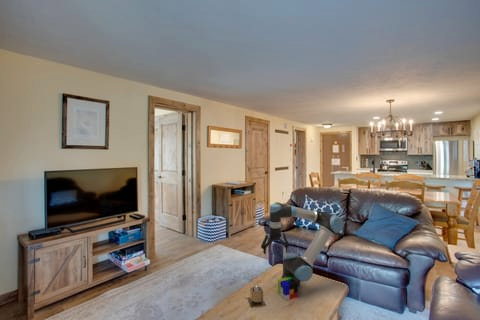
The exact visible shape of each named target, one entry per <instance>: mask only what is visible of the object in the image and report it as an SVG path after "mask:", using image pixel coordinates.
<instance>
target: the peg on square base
mask: <svg viewBox="0 0 480 320" xmlns="http://www.w3.org/2000/svg"><path fill="white" fill-rule="evenodd" d="M253 287H254V291H255V292H259V287H260V286H259V285H257V284H256V285H254V286H253ZM247 300H248V303H249V306H250V308H258V307H266V306H267V305H266V302H265V300H264V299H263V300H262V301H260V302H254V301H252V300H251V298H250V297H247Z"/></svg>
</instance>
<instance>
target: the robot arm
mask: <svg viewBox="0 0 480 320" xmlns="http://www.w3.org/2000/svg"><path fill="white" fill-rule="evenodd" d="M294 217H295V218H299V219H302V220H306V221H310V222H311V223H314V224H317V225H318V226H319V230H318V232H317V233H316V235H315V237H314V238H313V239H312V241H311V242H310V243H309V245H308V247H307V248H306V250H305V251H304V253H303V254H302V255H300V256H299V254H297V253H296V252H288V248H289V247H290V243H289V241H288V239H287V236H286V233H284V232H282V230H281V229H282V228H281V226H282V225H281V223H282V221H281V220H282V219H285V218H286V219H287V218H294ZM343 228H344V221H343V219H342V218H341V217H340V216H339V215H337V214H333V213H329V212H327V211H323V210H315V209H313V210H310V209H305V208H302V207H296V206H295V205H289V204H285V203H281V202H277V201H276V202H274V203H273V204H270V206H269V233H265V235H264V238H263V241H262V242H261V245H260V248H261V249H262V250H263V254H264V259H266V260H267V259H268V249H267V248H268V247H269V245H270V244H271V243H272V242H273V241H274V242H276V241H277V242H278V241H280V243H281V244H282V245H283V247H282V248H283V249H282V250H283V251H282V253H283V254H282V274H281V277H280V279H281V278H286V277H291V278H292V279H293V280H294V281H296V282H297V283H298V288H300V287H301V282H308V281H310V280H311V279H312V277H313V272H314V271H313V268H314V263H315V261H316V260H317V258H318V257H319V255H320V253H321V252H322V250H323V249H324V247H325V246H326V244H327V242H328V241H329V239H330V238H331V237H334V236H335V234H336V233H338V234H339V233H340V232H342V230H343ZM281 232H282V233H281ZM281 237H282V238H283V240H284V241H283V240H282V239H281Z"/></svg>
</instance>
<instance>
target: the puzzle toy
mask: <svg viewBox="0 0 480 320" xmlns="http://www.w3.org/2000/svg"><path fill="white" fill-rule="evenodd" d="M298 290H299V287H298V283H297V282H296V281H294V280H293V279H292V278H291V277H286V278H281V277H280V278H278V279H277V294H279V295H280V297H282V299H284V301H288V300H293V299H297V298H298V297H299V296H298V295H299V291H298Z"/></svg>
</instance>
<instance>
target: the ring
mask: <svg viewBox="0 0 480 320" xmlns="http://www.w3.org/2000/svg"><path fill="white" fill-rule="evenodd" d="M249 294H250V295H249V296H250V297H249V298H251V300H252V301H254V302H260V301H262V300H264V289H263V287H261V286H259V292H255V291H254V286H252V287H250V289H249Z"/></svg>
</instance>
